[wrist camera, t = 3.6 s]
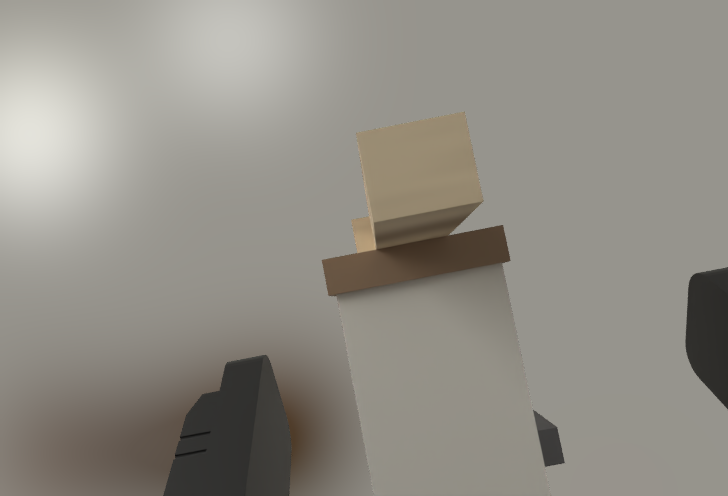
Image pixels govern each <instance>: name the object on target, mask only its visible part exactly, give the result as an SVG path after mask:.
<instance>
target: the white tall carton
mask: <svg viewBox="0 0 728 496" xmlns="http://www.w3.org/2000/svg"><path fill="white" fill-rule="evenodd" d="M508 261H510V256H509V251H508V247H507V242H506V237H505V233H504V228H503V225H501V226H495V227H490V228H485V229H480V230H475V231H470V232H464V233H459V234H454V235H449V236H444V237H439V238H433V239H428V240H423V241H418V242H413V243H407V244H402V245H397V246H392V247H387V248H382V249H376V250H371V251H366V252H361V253H356V254H351V255H345V256H340V257H335V258H330V259H325V260H322V263H323V268H324V274H325V279H326V284H327V290H328V295H329V296H337V301H338V306H339V311H340V317H341V322H342V328H343V333H344V339H345V344H346V349H347V354H348V360H349V365H350V371H351V376H352V381H353V387H354V392H355V397H356V403H357V408H358V413H359V419H360V424H361V429H362V434H363V440H364V446H365V450H366V456H367V462H368V467H369V472H370V478H371V483H372V488H373V494H374V496H551V493H550V488H549V483H548V479H547V474H546V469H545V467H546V466H551V465H556V464H562V463H564V457H563V453H562V448H561V443H560V439H559V434H558V429H557V427H556V426H555V425H553V424H552V423H551V422H549V421H548V420H546V419H545V418H544V417H542V416H541V415H540V414H538V413H537V412H536V411H534V410H533V408H532V403H531V398H530V393H529V389H528V384H527V379H526V374H525V370H524V366H523V360H522V355H521V351H520V347H519V341H518V337H517V332H516V327H515V322H514V318H513V313H512V308H511V303H510V299H509V294H508V289H507V284H506V280H505V275H504V271H503V266H502V263H505V262H508Z"/></svg>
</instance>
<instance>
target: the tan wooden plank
mask: <svg viewBox="0 0 728 496" xmlns="http://www.w3.org/2000/svg"><path fill="white" fill-rule="evenodd" d="M356 135H357V142H358V148H359V155H360V161H361V167H362V173H363V180H364V186H365V192H366V199H367V205H368V212H369V217H364V218H358V219H353V220H352V226H353V231H354V237H355V242H356V247H357V252H358V253H361V252H366V251H371V250H376V249H382V248H387V247H392V246H397V245H402V244H407V243H413V242H418V241H423V240H428V239H433V238H439V237H444V236H448V235H449V234H450V233H451V232H452V231H453V230H454V229H455V228H456V227H457V226H458V225H460V224H461V223H462V222H463V221H464V220H465V219H466V218H467V217H468V216H469V215H470V214H471V213H472V212H473V211H474V210H475V209H476V208H477V207H478V206H479V205H480V204H481V203H482V202H483V196H482V192H481V187H480V182H479V178H478V173H477V168H476V163H475V158H474V154H473V149H472V144H471V140H470V135H469V130H468V125H467V121H466V115H465V112H460V113H455V114H450V115H445V116H440V117H435V118H429V119H424V120H419V121H414V122H409V123H404V124H399V125H394V126H389V127H383V128H379V129H373V130H368V131H363V132H358V133H356Z"/></svg>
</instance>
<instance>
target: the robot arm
mask: <svg viewBox="0 0 728 496" xmlns="http://www.w3.org/2000/svg"><path fill="white" fill-rule="evenodd" d="M687 307H688V308H687V325H686V352H687V356H688V359H689V362H690V364H691V366H692V368H693V370H694V372H695V373H696V375H697V376H698V377H699V378H700V379H701V381H702V382H703V383H704V384H705V385H706V386H707V387H708V388H709V389H710V390H711V391H712V392H713V394H714V395H715V396H716V397H717V398H718V399H719V400H720V401H721V402H722V403H723V404H724V406H725V407H726V408H727V409H728V267H727V268H723V269H717V270H712V271H706V272H701V273H696V274H694V275H693V276H692V277H691V279H690V282H689V288H688V306H687ZM180 438H181V441H179V443H178V446H177V450H176V453H175V458H176V459H175V460H173V464H172V467H171V471H170V474H169V478H168V481H167V485H166V489H165V492H164V495H163V496H289V489H290V468H291V438H290V431H289V425H288V421H287V417H286V413H285V410H284V406H283V403H282V400H281V397H280V393H279V390H278V386H277V383H276V380H275V376H274V373H273V369H272V366H271V363H270V360H269V358H268V357H267V356H266V355H262V356H257V357H252V358H247V359H241V360H237V361H231V362H227V364H226V365H225V370H224V374H223V378H222V383H221V387H220V391H217V392H212V393H207V394H203V395H202V396H201V397H200V398H199V400H198V401H197V402H196V403H195V405H194V406H193V407H192V408H191V410H190V411H189V412H188V414H187V415H186V418H185V421H184V425H183V428H182V432H181V436H180Z"/></svg>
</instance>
